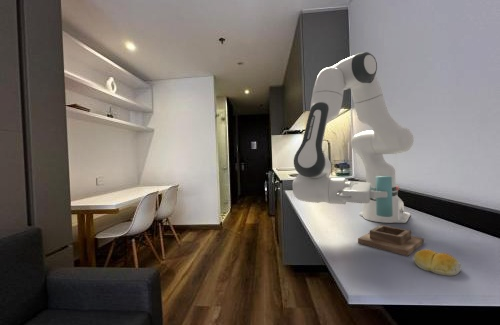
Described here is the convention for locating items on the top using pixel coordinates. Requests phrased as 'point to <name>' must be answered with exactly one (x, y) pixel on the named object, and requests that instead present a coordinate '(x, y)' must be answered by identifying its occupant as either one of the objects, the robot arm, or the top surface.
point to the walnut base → (392, 240)
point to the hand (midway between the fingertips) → (387, 192)
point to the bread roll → (437, 262)
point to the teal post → (384, 203)
